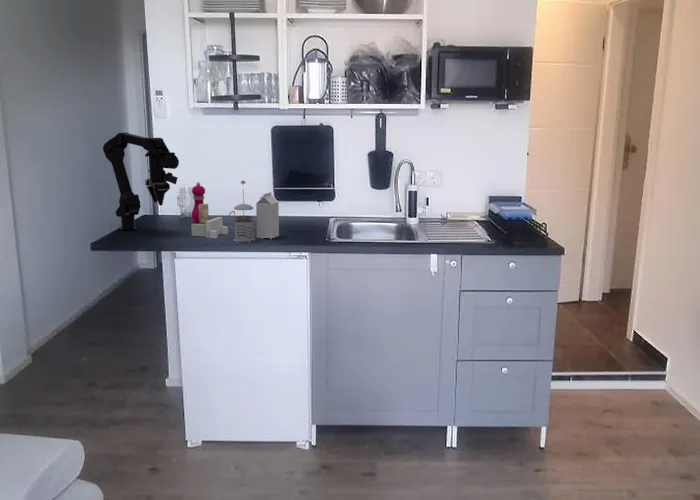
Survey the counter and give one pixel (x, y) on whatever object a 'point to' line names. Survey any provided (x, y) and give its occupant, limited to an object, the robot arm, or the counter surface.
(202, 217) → the dowel
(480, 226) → the counter surface
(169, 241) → the counter surface
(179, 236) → the counter surface
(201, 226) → the cradle
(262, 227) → the milk carton
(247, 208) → the french press
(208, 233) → the backstop wall
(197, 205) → the pepper mill
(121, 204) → the robot arm
